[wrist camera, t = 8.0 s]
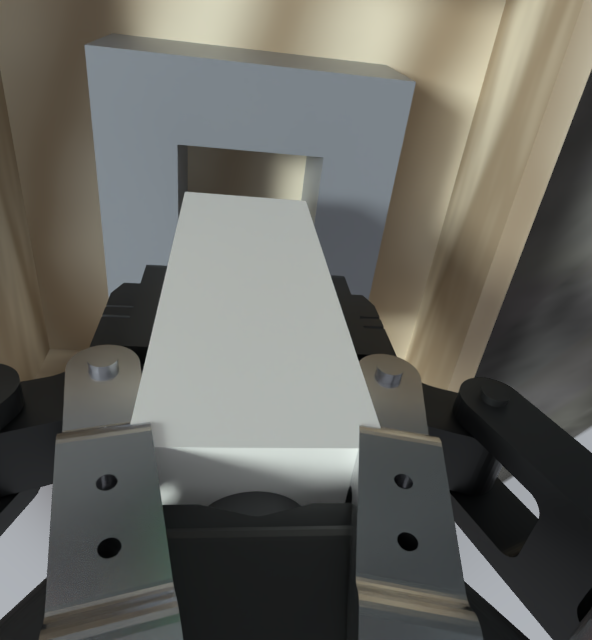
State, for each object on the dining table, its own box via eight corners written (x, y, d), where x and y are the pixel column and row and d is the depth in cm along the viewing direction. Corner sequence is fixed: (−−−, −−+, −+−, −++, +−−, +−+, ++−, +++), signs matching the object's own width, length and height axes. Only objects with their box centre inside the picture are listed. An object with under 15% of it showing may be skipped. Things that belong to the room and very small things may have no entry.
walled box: (542, -78, 18) (655, -100, 13) (412, 364, 29) (449, 444, 24) (-65, -176, 16) (-207, -250, 11) (38, 352, 26) (-9, 439, 21)
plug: (306, 200, 16) (466, 688, 5) (292, 302, 18) (387, 814, 7) (185, 191, 15) (62, 716, 4) (184, 297, 17) (99, 843, 6)
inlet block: (386, 64, 20) (416, 81, 16) (343, 292, 25) (359, 340, 22) (112, 33, 18) (84, 44, 15) (129, 281, 24) (111, 330, 20)
